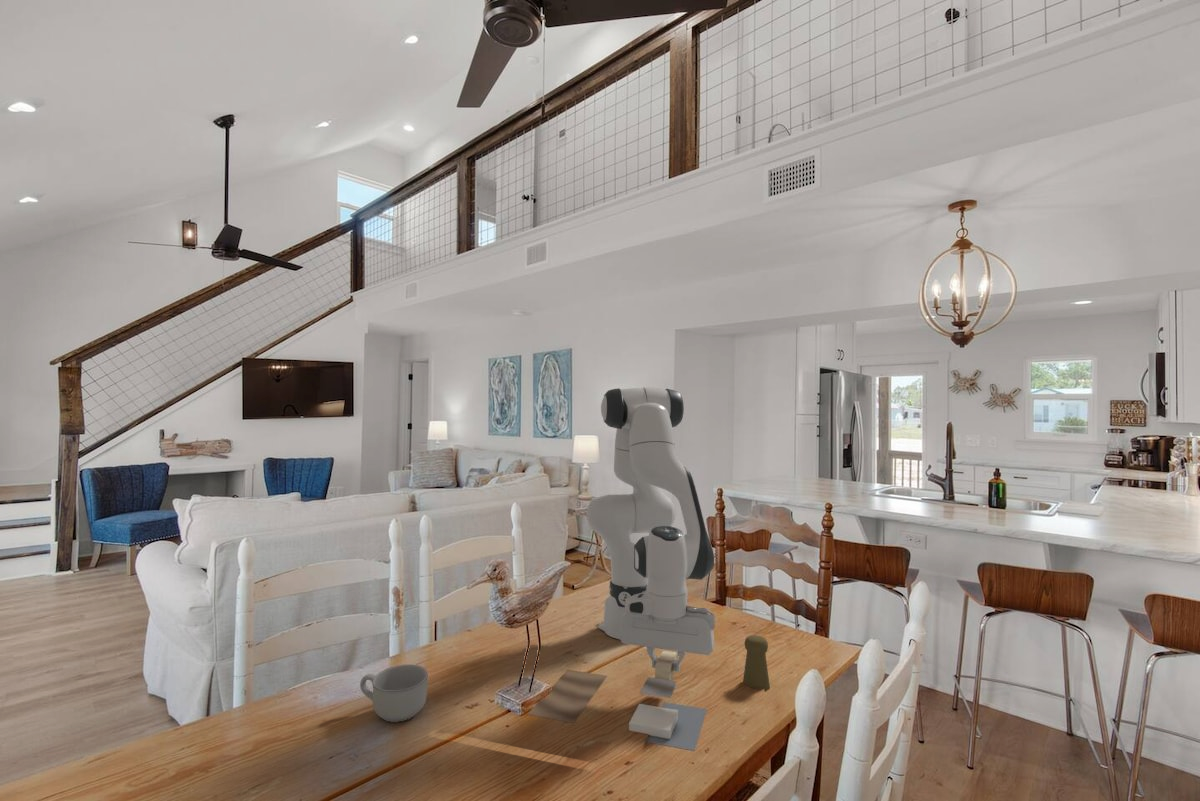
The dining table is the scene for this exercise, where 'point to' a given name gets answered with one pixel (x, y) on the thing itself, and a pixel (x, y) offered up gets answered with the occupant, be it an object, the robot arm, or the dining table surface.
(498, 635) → the dining table surface
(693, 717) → the mat
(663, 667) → the beige upright plank
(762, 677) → the olive green pawn
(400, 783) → the dining table surface
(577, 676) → the board
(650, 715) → the tile
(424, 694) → the teacup
